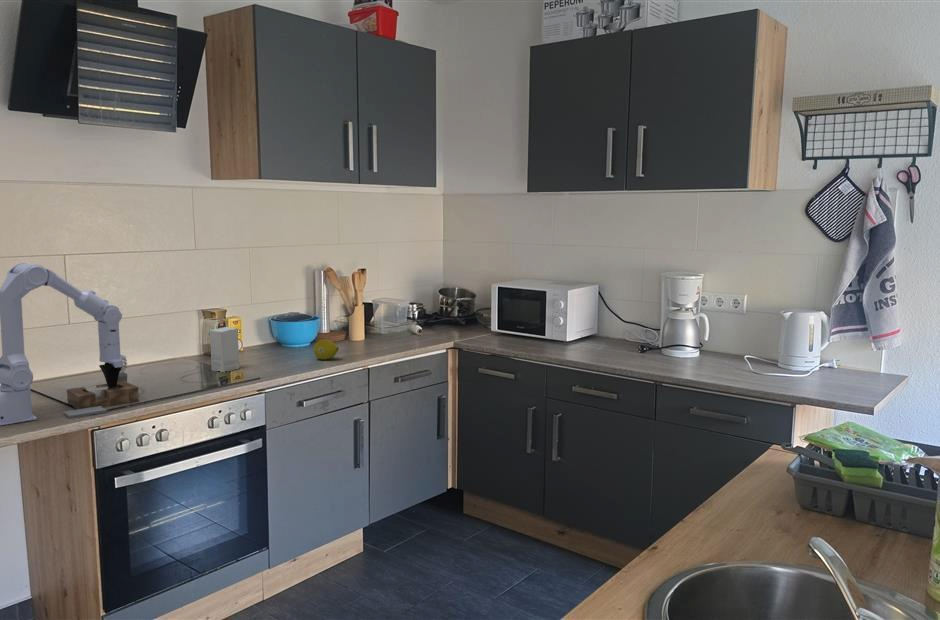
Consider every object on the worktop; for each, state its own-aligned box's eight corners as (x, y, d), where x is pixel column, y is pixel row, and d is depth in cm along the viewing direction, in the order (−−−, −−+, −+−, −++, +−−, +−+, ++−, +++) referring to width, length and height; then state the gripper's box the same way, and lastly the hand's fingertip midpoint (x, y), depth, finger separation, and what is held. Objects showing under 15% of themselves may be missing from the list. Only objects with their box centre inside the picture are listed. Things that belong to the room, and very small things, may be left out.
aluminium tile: (89, 399, 225) (89, 391, 224) (85, 397, 228) (85, 389, 227) (117, 395, 230) (117, 387, 230) (113, 393, 233) (113, 385, 233)
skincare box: (228, 367, 283) (226, 326, 281) (240, 369, 279) (239, 327, 277) (210, 371, 275) (208, 329, 273) (222, 373, 272) (221, 330, 270)
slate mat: (69, 418, 211) (69, 415, 211) (63, 414, 215) (63, 411, 215) (106, 412, 218) (106, 409, 218) (100, 408, 222) (100, 405, 222)
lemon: (308, 359, 297) (308, 340, 296) (322, 356, 303) (322, 337, 302) (328, 362, 291) (328, 342, 290) (342, 359, 297) (342, 339, 296)
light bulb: (118, 392, 242) (116, 356, 240) (105, 391, 244) (103, 355, 242) (132, 389, 247) (130, 353, 245) (119, 387, 249) (117, 352, 247)
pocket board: (79, 411, 219) (78, 396, 219) (67, 403, 228) (66, 389, 227) (138, 401, 231) (138, 387, 230) (125, 394, 239) (124, 381, 239)
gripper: (131, 345, 226) (133, 388, 228) (115, 339, 237) (117, 381, 239) (106, 347, 222) (109, 392, 223) (91, 341, 232) (94, 384, 234)
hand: (112, 387), depth 231 cm, fingers closed
